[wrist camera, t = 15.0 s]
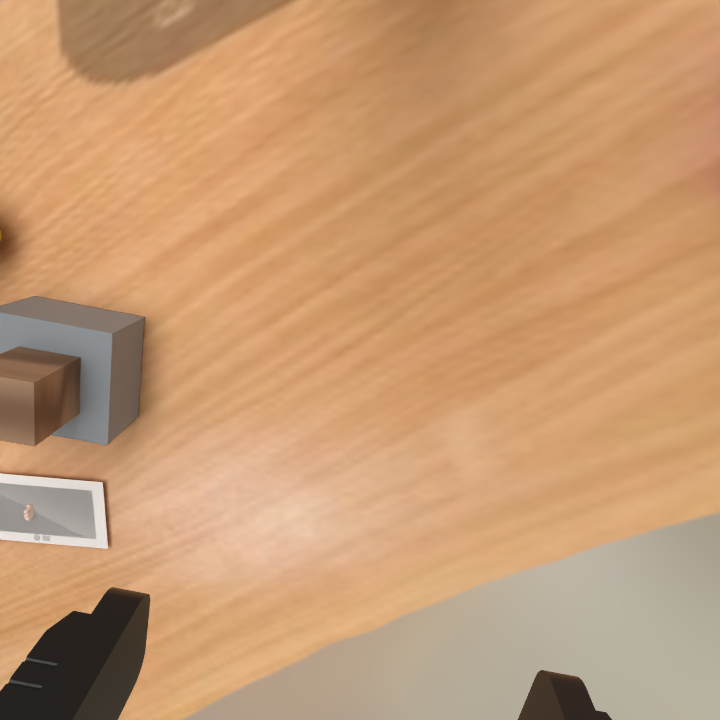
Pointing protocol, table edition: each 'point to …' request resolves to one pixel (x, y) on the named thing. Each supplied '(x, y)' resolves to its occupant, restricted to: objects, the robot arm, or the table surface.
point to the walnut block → (37, 393)
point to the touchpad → (52, 511)
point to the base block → (85, 358)
